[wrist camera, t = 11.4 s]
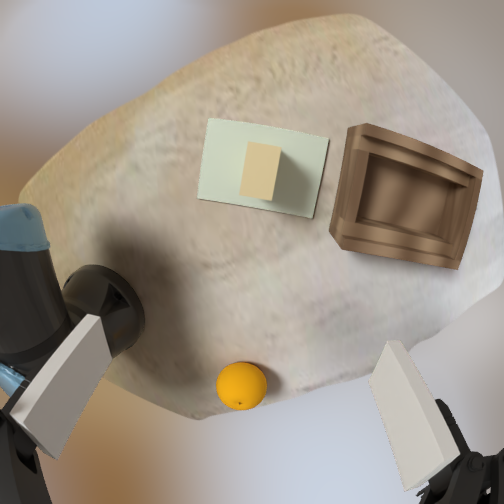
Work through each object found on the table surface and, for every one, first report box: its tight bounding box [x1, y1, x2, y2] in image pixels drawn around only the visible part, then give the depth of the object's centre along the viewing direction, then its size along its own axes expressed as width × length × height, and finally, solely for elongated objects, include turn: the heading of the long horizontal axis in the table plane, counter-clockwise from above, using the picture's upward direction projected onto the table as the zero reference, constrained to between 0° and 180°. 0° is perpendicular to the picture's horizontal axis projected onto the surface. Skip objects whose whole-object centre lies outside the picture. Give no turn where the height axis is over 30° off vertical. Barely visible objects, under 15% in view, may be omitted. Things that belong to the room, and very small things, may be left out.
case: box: [329, 123, 483, 270], centre depth 27 cm, size 17×13×6 cm
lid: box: [197, 118, 329, 218], centre depth 27 cm, size 14×10×8 cm
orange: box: [216, 362, 267, 410], centre depth 38 cm, size 8×8×8 cm
